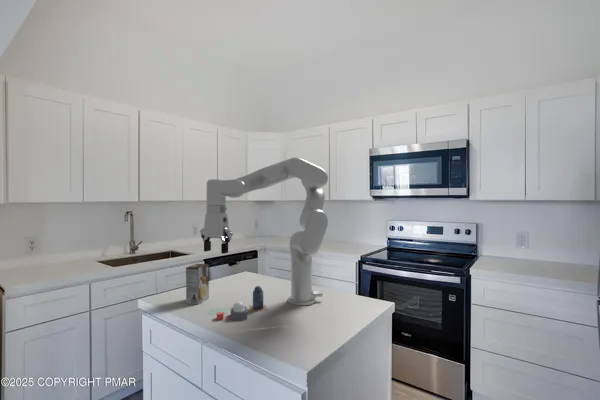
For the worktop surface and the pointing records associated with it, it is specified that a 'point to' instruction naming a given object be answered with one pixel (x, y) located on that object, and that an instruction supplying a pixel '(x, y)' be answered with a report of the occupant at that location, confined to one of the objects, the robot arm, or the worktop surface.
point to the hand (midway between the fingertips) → (215, 252)
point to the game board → (235, 315)
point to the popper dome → (238, 307)
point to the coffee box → (197, 283)
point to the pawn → (258, 298)
